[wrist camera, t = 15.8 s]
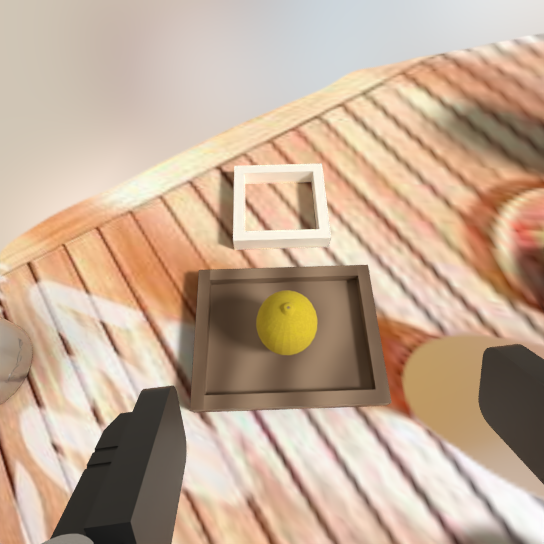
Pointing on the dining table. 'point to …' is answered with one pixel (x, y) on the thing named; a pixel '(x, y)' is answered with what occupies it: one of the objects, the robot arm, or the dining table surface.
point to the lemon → (286, 322)
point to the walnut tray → (287, 368)
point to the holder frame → (280, 237)
